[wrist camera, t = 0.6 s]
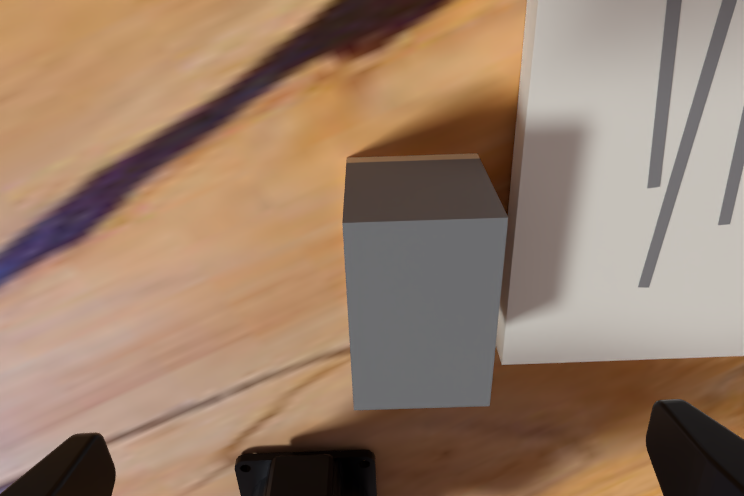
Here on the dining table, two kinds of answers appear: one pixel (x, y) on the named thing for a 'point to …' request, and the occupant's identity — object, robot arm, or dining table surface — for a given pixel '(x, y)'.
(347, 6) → the dining table surface
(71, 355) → the dining table surface
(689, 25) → the board
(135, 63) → the dining table surface
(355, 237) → the block
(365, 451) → the robot arm
